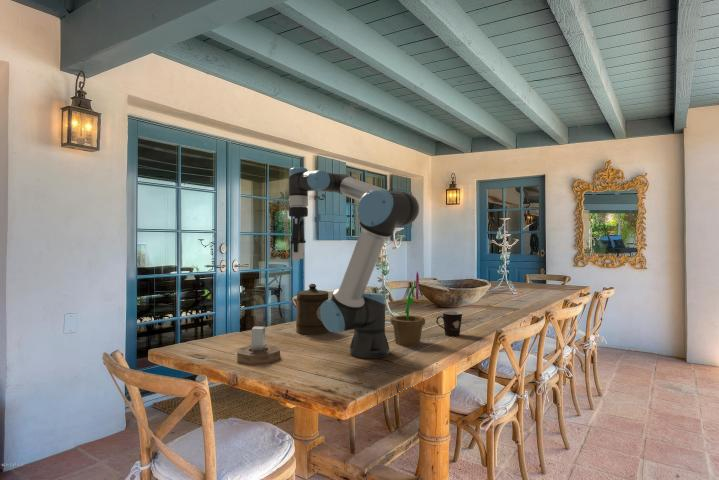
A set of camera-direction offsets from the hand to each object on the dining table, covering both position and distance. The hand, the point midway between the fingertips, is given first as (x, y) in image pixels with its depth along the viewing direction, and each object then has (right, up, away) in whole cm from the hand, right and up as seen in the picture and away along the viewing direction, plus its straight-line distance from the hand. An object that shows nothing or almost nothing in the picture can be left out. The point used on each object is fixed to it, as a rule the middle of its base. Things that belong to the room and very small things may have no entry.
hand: (298, 259), depth 182 cm
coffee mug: (+65, -35, +21) cm, 76 cm away
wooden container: (+3, -34, +28) cm, 44 cm away
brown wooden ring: (-12, -35, -16) cm, 41 cm away
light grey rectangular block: (-12, -35, -16) cm, 41 cm away
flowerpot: (+45, -35, +6) cm, 57 cm away
